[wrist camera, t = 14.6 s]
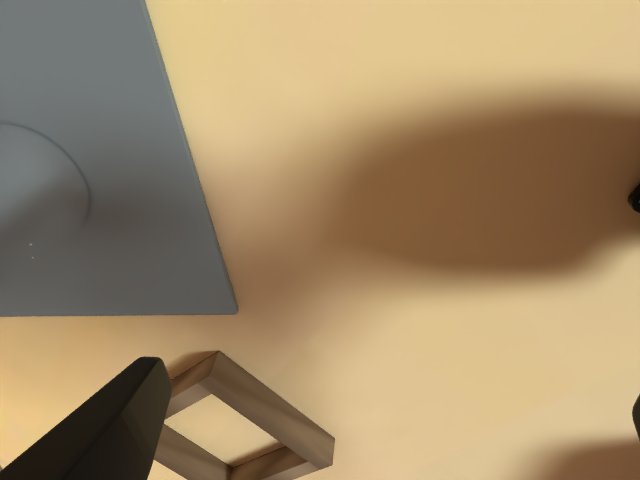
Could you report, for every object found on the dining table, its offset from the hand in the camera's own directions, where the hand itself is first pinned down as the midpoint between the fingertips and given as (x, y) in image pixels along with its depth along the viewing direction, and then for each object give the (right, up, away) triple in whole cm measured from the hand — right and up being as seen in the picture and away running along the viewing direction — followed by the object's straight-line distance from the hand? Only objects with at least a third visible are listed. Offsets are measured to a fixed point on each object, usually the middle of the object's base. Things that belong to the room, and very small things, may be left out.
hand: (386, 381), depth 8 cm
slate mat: (-16, +6, +14) cm, 22 cm away
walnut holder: (-8, -11, +25) cm, 28 cm away
